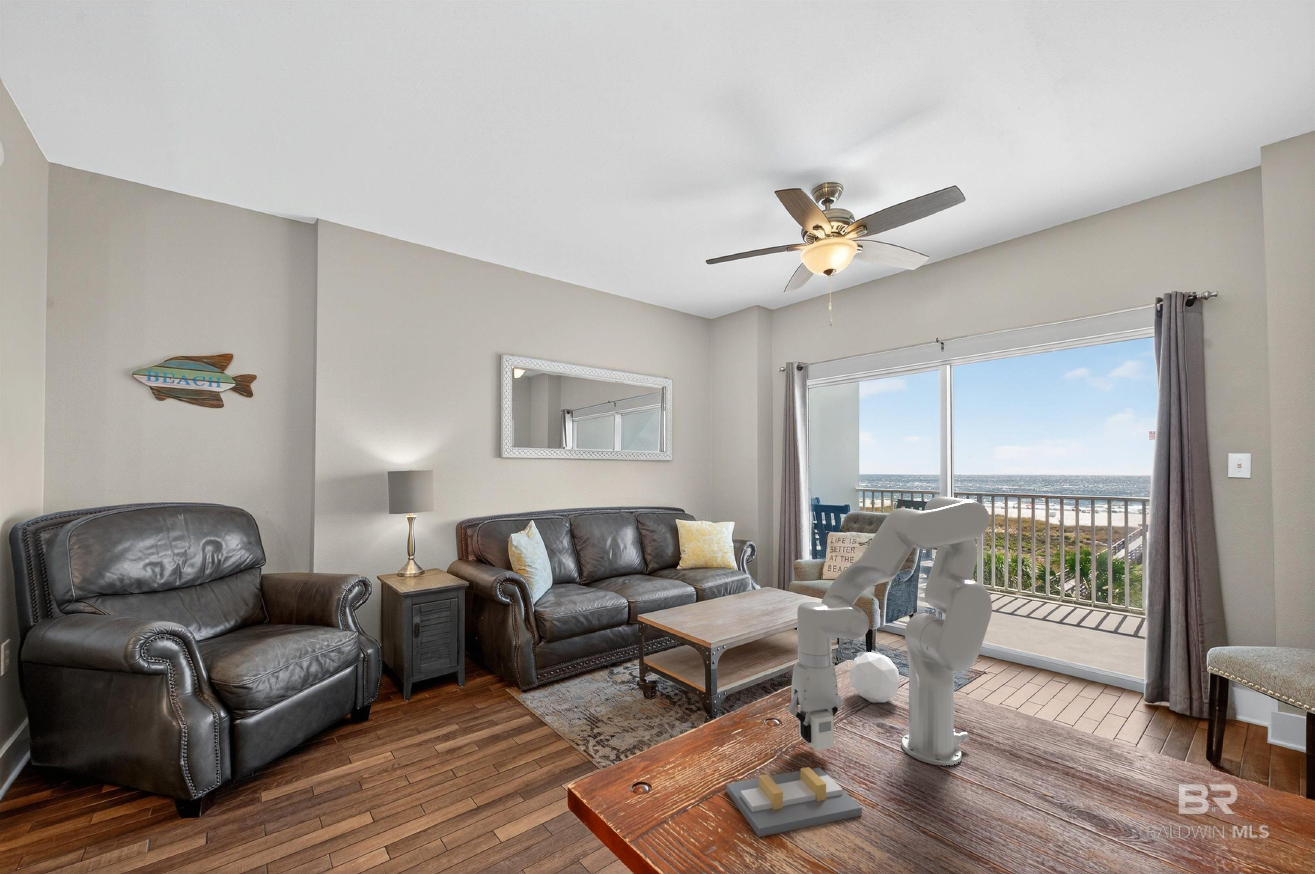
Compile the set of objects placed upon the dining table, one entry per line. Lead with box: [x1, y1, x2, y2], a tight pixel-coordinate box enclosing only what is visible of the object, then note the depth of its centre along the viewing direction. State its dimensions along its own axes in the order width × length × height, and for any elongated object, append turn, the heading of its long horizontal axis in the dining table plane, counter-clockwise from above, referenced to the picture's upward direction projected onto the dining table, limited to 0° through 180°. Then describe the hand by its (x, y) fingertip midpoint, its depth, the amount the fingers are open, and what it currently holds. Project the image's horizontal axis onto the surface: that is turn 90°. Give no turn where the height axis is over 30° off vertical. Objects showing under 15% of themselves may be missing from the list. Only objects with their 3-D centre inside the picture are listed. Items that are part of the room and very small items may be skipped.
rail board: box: [725, 766, 863, 838], centre depth 108 cm, size 22×14×4 cm, turn 107°
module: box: [798, 705, 835, 752], centre depth 126 cm, size 5×7×7 cm, turn 17°
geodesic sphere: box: [849, 649, 901, 703], centre depth 156 cm, size 14×14×14 cm
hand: (816, 737), depth 126 cm, fingers closed on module, 4 cm apart
